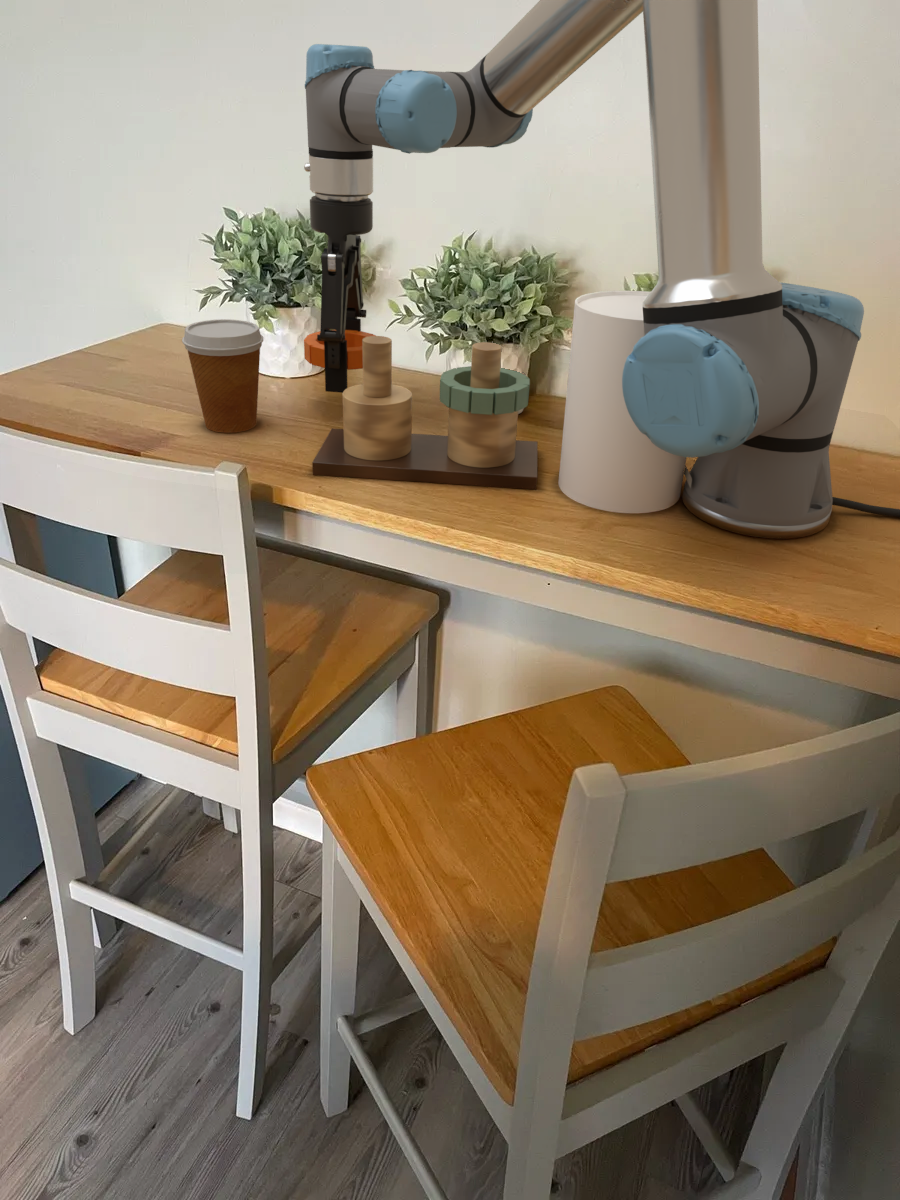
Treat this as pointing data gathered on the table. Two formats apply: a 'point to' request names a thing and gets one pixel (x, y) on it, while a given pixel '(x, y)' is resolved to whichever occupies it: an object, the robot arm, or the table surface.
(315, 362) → the orange ring
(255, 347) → the disposable coffee cup
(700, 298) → the robot arm
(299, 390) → the table surface
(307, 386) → the table surface
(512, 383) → the sage ring
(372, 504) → the table surface
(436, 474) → the ring board
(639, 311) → the canister
